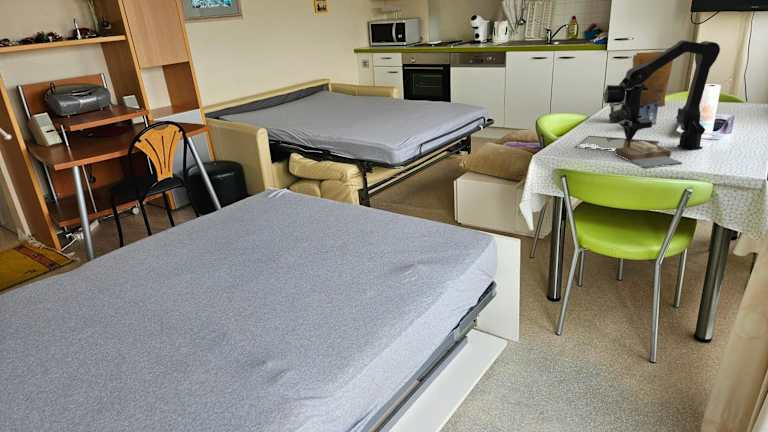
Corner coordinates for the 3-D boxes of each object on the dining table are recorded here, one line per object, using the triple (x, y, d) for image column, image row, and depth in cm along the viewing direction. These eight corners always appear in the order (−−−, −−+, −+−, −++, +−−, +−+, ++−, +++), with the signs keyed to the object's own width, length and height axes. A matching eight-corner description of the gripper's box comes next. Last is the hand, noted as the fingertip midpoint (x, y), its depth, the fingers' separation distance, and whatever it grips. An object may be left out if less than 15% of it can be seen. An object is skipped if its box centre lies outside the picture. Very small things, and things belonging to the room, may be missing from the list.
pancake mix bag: (666, 107, 269) (674, 51, 258) (627, 106, 279) (633, 52, 268) (668, 105, 274) (676, 50, 263) (629, 103, 284) (635, 50, 273)
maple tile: (641, 145, 200) (642, 140, 199) (656, 151, 192) (657, 146, 191) (629, 147, 200) (630, 142, 199) (644, 153, 191) (644, 147, 191)
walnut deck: (653, 150, 202) (654, 144, 201) (670, 156, 193) (671, 150, 192) (615, 154, 200) (616, 148, 199) (630, 161, 191) (631, 155, 190)
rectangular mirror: (575, 148, 213) (649, 155, 198) (575, 146, 213) (649, 153, 197) (588, 137, 227) (658, 143, 212) (588, 135, 227) (659, 141, 211)
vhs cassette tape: (650, 123, 241) (653, 102, 237) (657, 124, 239) (659, 102, 235) (627, 130, 232) (630, 108, 228) (634, 131, 230) (636, 109, 226)
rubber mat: (665, 157, 193) (665, 155, 193) (681, 164, 185) (681, 162, 184) (630, 161, 191) (630, 160, 191) (645, 168, 183) (645, 166, 183)
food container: (622, 118, 254) (624, 98, 250) (631, 120, 249) (634, 99, 245) (601, 121, 251) (603, 101, 247) (610, 124, 245) (612, 103, 242)
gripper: (600, 100, 206) (597, 138, 212) (627, 108, 189) (623, 149, 195) (626, 97, 207) (622, 135, 213) (655, 105, 190) (650, 146, 196)
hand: (628, 141), depth 204 cm, fingers closed
